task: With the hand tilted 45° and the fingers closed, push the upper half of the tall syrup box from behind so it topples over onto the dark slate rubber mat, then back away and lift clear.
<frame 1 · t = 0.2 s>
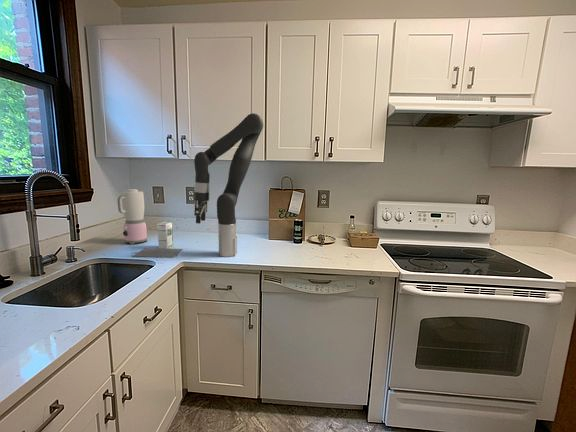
hand: (200, 221, 152), 18 cm above the worktop, tool pointing down, fingers open, 8 cm apart
blender: (133, 243, 173), on the worktop
slate mat: (158, 253, 154), on the worktop
syrup box: (166, 248, 165), on the worktop
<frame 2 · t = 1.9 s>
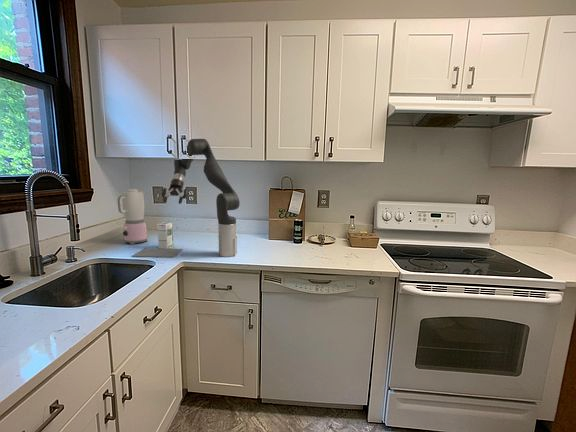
hand: (172, 202, 175), 24 cm above the worktop, tool tilted 40°, fingers open, 8 cm apart
nothing on the worktop moved.
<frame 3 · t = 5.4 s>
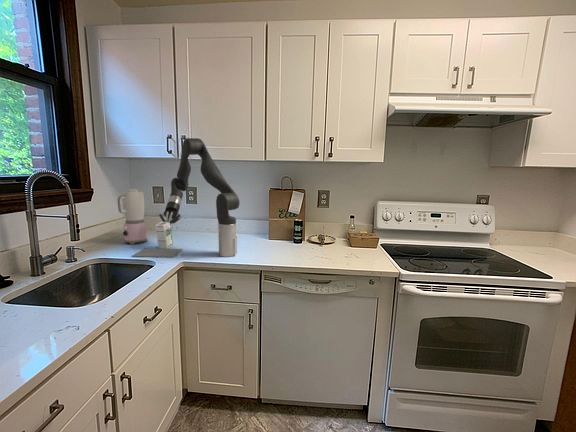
hand: (166, 228, 165), 11 cm above the worktop, tool tilted 45°, fingers closed
syrup box: (166, 247, 165), on the worktop, touching gripper
everything else where it was.
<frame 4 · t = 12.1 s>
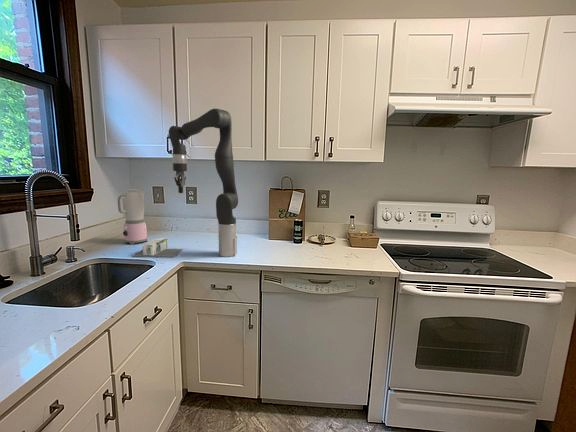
hand: (180, 192, 167), 31 cm above the worktop, tool pointing down, fingers closed
syrup box: (163, 242, 162), point 3 cm above the worktop, touching slate mat
everything else where it was.
at the end: syrup box tilted 90°; syrup box inside the target area (5.9 cm from its centre), point 3.4 cm above the worktop; syrup box touching slate mat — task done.
